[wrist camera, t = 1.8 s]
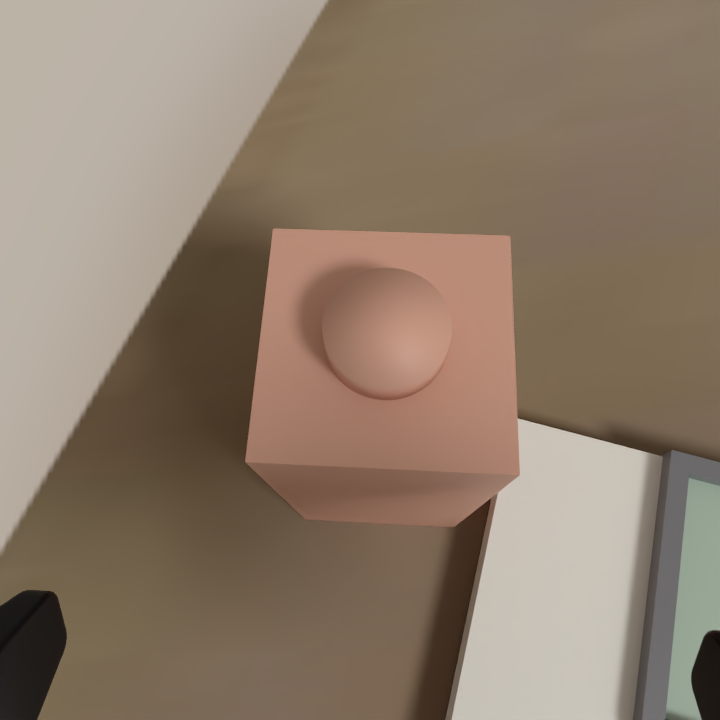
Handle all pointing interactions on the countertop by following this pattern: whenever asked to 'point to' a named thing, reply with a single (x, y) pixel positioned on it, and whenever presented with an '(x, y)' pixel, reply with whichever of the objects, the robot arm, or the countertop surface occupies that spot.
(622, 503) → the build board
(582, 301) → the countertop surface
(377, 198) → the countertop surface
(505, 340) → the pillar
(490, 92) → the countertop surface
